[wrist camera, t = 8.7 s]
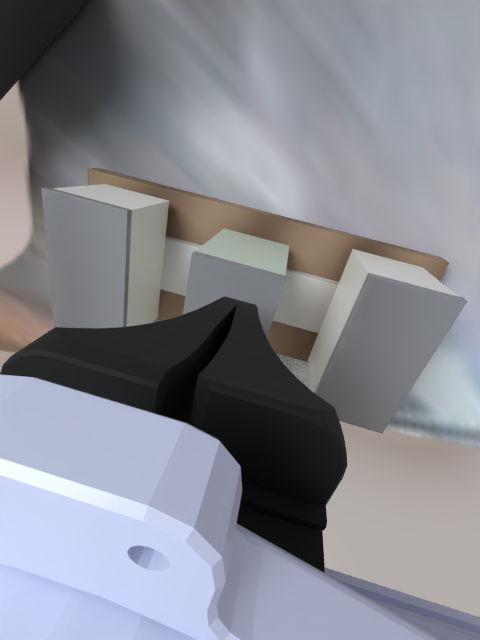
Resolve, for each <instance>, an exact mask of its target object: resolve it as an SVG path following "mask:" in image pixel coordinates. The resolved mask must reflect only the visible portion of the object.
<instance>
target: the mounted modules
mask: <svg viewBox="0 0 480 640" xmlns="http://www.w3.org/2000/svg"><path fill="white" fill-rule="evenodd" d="M41 189H42V200H43V211H44V222H45V233H46V244H47V254H48V265H49V276H50V287H51V298H52V309H53V320H54V328H55V327H63V328H117V327H128V326H136V325H142V324H149V323H153V322H154V321H155V320H156V319H157V318H158V308H159V298H160V288H161V278H162V268H163V258H164V248H165V238H166V227H167V217H168V207H169V201H168V200H165V199H161V198H157V197H153V196H149V195H145V194H142V193H138V192H134V191H130V190H126V189H123V188H119V187H115V186H111V185H107V184H99V185H87V186H75V187H63V188H49V187H45V188H41ZM466 303H467V301H466V300H465V299H464V298H462V297H458V296H457V295H456V294H455V293H454V292H452V291H451V290H450V289H449V288H447V287H446V286H445V285H444V284H442V283H441V282H440V281H439V280H438V279H436V278H435V277H434V276H433V275H431V274H430V273H429V272H428V271H426V270H425V269H424V268H423V267H419V266H416V265H412V264H408V263H404V262H400V261H397V260H393V259H389V258H385V257H381V256H378V255H374V254H370V253H366V252H362V251H359V250H355V249H352V252H351V254H350V257H349V259H348V262H347V264H346V266H345V269H344V271H343V274H342V276H341V279H340V281H339V284H338V286H337V289H336V291H335V294H334V296H333V299H332V301H331V304H330V306H329V309H328V311H327V313H326V316H325V318H324V321H323V323H322V326H321V328H320V331H319V333H318V336H317V338H316V341H315V343H314V346H313V348H312V351H311V353H310V356H309V358H308V382H309V389H310V390H311V391H312V392H314V393H315V394H317V395H318V396H319V397H321V398H322V399H324V400H325V401H326V402H328V403H329V404H331V405H332V406H333V407H335V409H336V412H337V416H338V419H339V421H342V422H345V423H349V424H352V425H356V426H359V427H362V428H366V429H369V430H372V431H376V432H379V433H383V431H384V430H385V428H386V427H387V425H388V424H389V422H390V420H391V419H392V417H393V416H394V414H395V413H396V411H397V410H398V408H399V406H400V405H401V403H402V402H403V400H404V399H405V397H406V396H407V394H408V393H409V391H410V389H411V388H412V386H413V385H414V383H415V382H416V380H417V379H418V377H419V375H420V374H421V372H422V371H423V369H424V368H425V366H426V365H427V363H428V362H429V360H430V358H431V357H432V355H433V354H434V352H435V351H436V349H437V348H438V346H439V345H440V343H441V341H442V340H443V338H444V337H445V335H446V334H447V332H448V331H449V329H450V327H451V326H452V324H453V323H454V321H455V320H456V318H457V317H458V315H459V314H460V312H461V310H462V309H463V307H464V306H465V304H466Z"/></svg>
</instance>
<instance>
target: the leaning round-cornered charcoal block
mask: <svg viewBox="0 0 480 640" xmlns="http://www.w3.org/2000/svg"><path fill="white" fill-rule="evenodd" d="M84 2H85V0H0V100H1V99H2V98H3V97H4V96H5V94H6V93H7V92H8V91H9V90H10V89H11V87H13V85H14V84H15V83H16V82H17V81H18V80H19V79H20V77H21V76H22V75H23V74H24V73H25V72H26V71H27V70H28V68H29V67H30V66H31V65H32V64H33V63H34V62H35V60H36V59H37V58H38V57H39V56H40V55H41V54H42V52H43V51H44V50H45V49H46V48H47V47H48V46H49V45H50V43H51V42H52V41H53V40H54V39H55V38H56V37H57V35H58V34H59V33H60V32H61V31H62V30H63V29H64V28H65V26H66V25H67V24H68V23H69V22H70V21H71V20H72V18H73V17H74V16H75V15H76V14H77V13H78V12H79V10H80V9H81V7H82V6H83V4H84Z"/></svg>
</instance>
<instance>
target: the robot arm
mask: <svg viewBox="0 0 480 640" xmlns="http://www.w3.org/2000/svg"><path fill="white" fill-rule="evenodd" d="M346 467H347V453H346V447H345V441H344V436H343V432H342V429H341V425H340V422H339V419H338V416H337V412H336V409H335V407H333V406H332V405H331V404H329V403H328V402H326V401H325V400H324V399H322V398H321V397H319V396H318V395H317V394H315V393H314V392H312V391H311V390H310V389H309V388H307V387H306V386H305V385H304V384H303V383H302V382H301V381H300V380H298V379H297V378H296V377H295V376H294V375H293V374H292V373H291V372H290V371H289V369H288V368H287V367H286V366H285V365H284V364H283V363H282V361H281V360H280V359H279V358H278V356H277V355H276V353H275V352H274V350H273V349H272V347H271V345H270V343H269V341H268V339H267V337H266V335H265V333H264V330H263V328H262V325H261V322H260V318H259V314H258V307H257V306H256V305H255V304H251V303H248V302H244V301H240V300H237V299H233V298H229V297H226V296H224V297H222V298H220V299H218V300H216V301H214V302H212V303H210V304H208V305H206V306H203V307H201V308H199V309H197V310H194V311H191V312H189V313H186V314H184V315H181V316H178V317H175V318H172V319H168V320H164V321H160V322H155V323H149V324H142V325H136V326H128V327H117V328H63V327H55V328H54V329H52V330H51V331H49V332H47V333H46V334H44V335H43V336H41V337H40V338H38V339H37V340H35V341H34V342H32V343H31V344H29V345H28V346H26V347H24V348H23V349H21V350H20V351H18V352H17V353H15V354H14V355H12V356H11V357H10V358H9V359H8V360H7V361H6V362H5V363H4V365H3V367H2V370H1V373H0V640H480V617H477V616H473V615H470V614H467V613H464V612H461V611H458V610H455V609H452V608H449V607H446V606H442V605H439V604H436V603H433V602H430V601H427V600H424V599H421V598H418V597H415V596H411V595H408V594H405V593H402V592H399V591H396V590H393V589H390V588H386V587H384V586H380V585H377V584H374V583H371V582H368V581H364V580H362V579H358V578H355V577H352V576H349V575H346V574H343V573H340V572H337V571H334V570H330V569H328V568H325V567H324V552H323V536H322V530H324V529H325V528H326V524H327V517H326V504H327V502H328V501H329V499H330V498H331V496H332V494H333V493H334V491H335V490H336V488H337V486H338V485H339V483H340V481H341V480H342V478H343V476H344V473H345V470H346Z"/></svg>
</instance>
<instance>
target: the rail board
mask: <svg viewBox="0 0 480 640" xmlns="http://www.w3.org/2000/svg"><path fill="white" fill-rule="evenodd" d="M99 184H107V185H111V186H115V187H119V188H123V189H126V190H130V191H134V192H138V193H142V194H145V195H149V196H153V197H157V198H161V199H165V200H168V201H169V207H168V217H167V227H166V238H165V248H164V258H163V268H162V278H161V288H160V298H159V308H158V318H157V319H160V320H163V321H164V320H168V319H172V318H175V317H178V316H181V315H183V310H184V303H185V296H186V289H187V282H188V276H189V269H190V262H191V255H192V253H193V252H194V251H196V250H198V249H199V248H200V247H201V246H203V245H204V244H205V243H206V242H208V241H209V240H210V239H211V238H213V237H214V236H215V235H216V234H218V233H219V232H220V231H221V230H223V229H224V228H225V229H229V230H232V231H236V232H240V233H244V234H247V235H251V236H255V237H259V238H262V239H266V240H270V241H274V242H277V243H281V244H285V245H288V246H289V253H288V260H287V268H286V275H285V276H286V279H285V282H284V286H283V289H282V292H281V295H280V298H279V302H278V305H277V308H276V311H275V314H274V318H273V321H272V324H271V327H270V330H269V334H268V337H267V339H268V341H269V343H270V345H271V347H272V349H273V350H274V352H275V353H279V354H282V355H286V356H289V357H293V358H296V359H300V360H303V361H307V362H308V358H309V356H310V353H311V351H312V348H313V346H314V343H315V341H316V338H317V336H318V333H319V331H320V328H321V326H322V323H323V321H324V318H325V316H326V313H327V311H328V309H329V306H330V304H331V301H332V299H333V296H334V294H335V291H336V289H337V286H338V284H339V281H340V279H341V276H342V274H343V271H344V269H345V266H346V264H347V262H348V259H349V257H350V254H351V252H352V249H355V250H359V251H362V252H366V253H370V254H374V255H378V256H381V257H385V258H389V259H393V260H397V261H400V262H404V263H408V264H412V265H416V266H419V267H423V268H424V269H425V270H426V271H428V272H429V273H430V274H431V275H433V276H434V277H435V278H436V279H438V280H440V278H441V276H442V275H443V273H444V271H445V269H446V268H447V266H448V264H449V262H447V261H446V260H444V259H442V258H441V257H437V256H433V255H430V254H426V253H422V252H418V251H414V250H410V249H406V248H403V247H399V246H395V245H391V244H387V243H383V242H380V241H376V240H372V239H368V238H364V237H360V236H357V235H353V234H349V233H345V232H341V231H337V230H333V229H330V228H326V227H322V226H318V225H314V224H310V223H307V222H303V221H299V220H295V219H291V218H287V217H284V216H280V215H276V214H272V213H268V212H264V211H260V210H257V209H253V208H249V207H245V206H241V205H237V204H234V203H230V202H226V201H222V200H218V199H214V198H210V197H207V196H203V195H199V194H195V193H191V192H187V191H184V190H180V189H176V188H172V187H168V186H164V185H161V184H157V183H153V182H149V181H145V180H141V179H137V178H134V177H130V176H126V175H122V174H118V173H114V172H111V171H107V170H103V169H88V185H99Z"/></svg>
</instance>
